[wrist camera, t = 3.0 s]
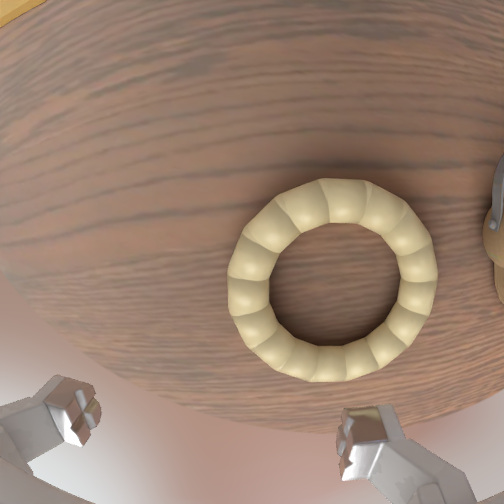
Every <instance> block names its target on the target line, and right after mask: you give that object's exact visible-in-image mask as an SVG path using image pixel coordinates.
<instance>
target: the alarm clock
mask: <svg viewBox="0 0 504 504" xmlns="http://www.w3.org/2000/svg"><path fill="white" fill-rule="evenodd" d="M503 195H504V153H503V155H502V157H501V159H500V161H499V163H498V166H497V168H496V171H495V175H494V180H493V188H492V207H491V208H490V210H489V211H488V213H487V215H486V218H485V220H484V225H483V236H482V237H483V243H484V248H485V250H486V252H487V254H488V256H489V258H490V259H491V260H492V261H493V262H494V276H495V286H496V290H497V293H498V297H499V300H500V301H501V302H502V303H503V305H504V197H503Z"/></svg>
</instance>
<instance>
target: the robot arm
mask: <svg viewBox="0 0 504 504" xmlns="http://www.w3.org/2000/svg"><path fill="white" fill-rule="evenodd" d="M95 394H96V393H95V390H94V388H93V386H92V385H90V384H88V383H85V382H81V381H78V380H75V379H71V378H67V377H63V376H61V375H55V376H53V377H52V378H51V379H50V380H49V381H48V382H47V383H46V384H45V385H44V386H43V387H42V388H41V389H40V390H39V391H38V392H37V393H36V394H35V395H34V396H33V397H32V398H30V397H27V398H24V399H22V400H18V401H16V402H13V403H10V404H7V405H4V406H0V504H95V503H92V502H89V501H87V500H84V499H82V498H79V497H77V496H75V495H72V494H70V493H68V492H66V491H63V490H61V489H59V488H57V487H55V486H52V485H51V484H49V483H47V482H45V481H43V480H41V479H39V478H37V477H35V476H33V471H32V470H31V468H30V467H29V465H28V464H27V462H29V461H31V460H33V459H34V458H36V457H38V456H40V455H42V454H44V453H45V452H47V451H49V450H51V449H52V448H54V447H56V446H58V445H59V444H61V443H63V442H64V441H66V442H69V443H71V444H74V445H78V446H80V447H83V446H84V445H85V443H86V442H87V440H88V439H89V437H90V435H91V434H90V430H91V429H93V428H95V427H97V425H98V423H99V422H100V418H101V407H100V404H99V402H98V401H97V400H96V399H95V398H94V396H95ZM341 420H342V424H341V425H340V426H339V427H338V432H337V440H336V445H337V454H338V455H339V456H340V457H341V460H340V463H339V468H340V475H341V480H342V481H343V480H357V479H368V478H369V479H368V480H369V481H370V482H371V483H372V484H373V485H374V486H375V487H376V488H377V489H378V490H379V491H380V492H381V493H382V494H383V495H384V496H385V497H386V498H387V499H388V500H389V501H390V502H391V503H392V504H504V491H503V492H501V493H498V494H496V495H494V496H492V497H489V498H487V499H485V500H483V501H480V502H477V500H476V498H475V496H474V493H473V491H472V489H471V487H470V484H469V482H468V480H467V477H466V475H465V473H464V472H462V471H461V470H459V469H457V468H456V467H454V466H453V465H451V464H449V463H448V462H446V461H445V460H443V459H441V458H440V457H438V456H437V455H435V454H433V453H432V452H430V451H429V450H427V449H426V448H424V447H423V446H421V445H420V444H418V443H417V442H415V441H414V440H412V439H406V437H405V435H404V433H403V430H402V427H401V425H400V422H399V420H398V417H397V415H396V412H395V410H394V407H393V405H391V404H384V405H376V406H366V407H353V408H344V409H343V411H342V415H341Z"/></svg>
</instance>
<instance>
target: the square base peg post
mask: <svg viewBox="0 0 504 504" xmlns="http://www.w3.org/2000/svg"><path fill="white" fill-rule="evenodd" d="M45 1H46V0H0V27H2V26H3V25H5V24H7V23H8V22H10V21H11V20H13V19H15V18H16V17H18V16H20V15H21V14H23V13H25V12H27V11H28V10H30V9H32V8H34V7H36V6H38V5H40V4H41V3H43V2H45Z"/></svg>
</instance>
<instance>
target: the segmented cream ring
mask: <svg viewBox="0 0 504 504" xmlns="http://www.w3.org/2000/svg"><path fill="white" fill-rule="evenodd" d="M326 223H357V224H359V225H361V226H363V227H365V228H367V229H370V230H372V231H374V232H376V233H378V234H380V235H381V236H382V238H383V239H384V240H385V241H386V243H387V244H388V245H389V246H390V248H391V249H392V250H393V251H394V253H395V255H396V259H397V262H398V266H399V270H400V274H401V279H400V285H399V292H398V298H397V301H396V303H395V304H394V306H393V308H392V310H391V311H390V313H389V315H388V316H387V318H386V320H385V321H384V322H383V323H382V324H381V325H379V326H378V327H377V328H376V329H375V330H373V331H372V332H371V333H370V334H369V335H367V336H366V337H364V338H362V339H359V340H356V341H354V342H351V343H348V344H345V345H343V346H316V345H313V344H310V343H308V342H305V341H302V340H300V339H297V338H295V337H294V336H292V335H291V334H290V333H289V332H288V331H287V330H286V329H285V328H284V327H283V326H282V325H281V324H279V323H278V321H277V319H276V316H275V314H274V312H273V309H272V307H271V305H270V303H269V277H270V274H271V272H272V270H273V268H274V266H275V263H276V261H277V259H278V257H279V255H280V253H281V252H282V251H283V250H284V249H285V248H286V247H287V246H288V245H289V244H290V243H291V242H292V241H293V240H295V239H296V238H297V237H298V236H299V235H300V234H301V233H303V232H305V231H308V230H311V229H313V228H316V227H319V226H321V225H324V224H326ZM437 280H438V269H437V263H436V258H435V254H434V249H433V244H432V240H431V236H430V234H429V232H428V231H427V229H426V228H425V226H424V225H423V224H422V222H421V221H420V220H419V218H418V217H417V215H416V214H415V213H414V211H413V210H412V209H411V208H410V206H409V205H408V204H407V203H406V202H405V201H404V200H403V199H401V198H399V197H397V196H396V195H394V194H392V193H390V192H388V191H386V190H384V189H383V188H381V187H379V186H377V185H375V184H373V183H371V182H369V181H366V180H355V179H335V178H321V179H317V180H314V181H311V182H309V183H306V184H304V185H301V186H298V187H296V188H293V189H291V190H288V191H286V192H283V193H281V194H279V195H277V196H276V197H274V198H273V199H272V200H271V201H270V202H269V203H268V204H267V205H266V206H265V207H264V208H263V209H262V210H261V211H260V212H259V213H258V214H257V215H256V216H255V217H254V218H253V219H252V220H251V221H250V222H249V223H248V224H247V225H246V226H245V227H244V229H243V231H242V233H241V236H240V238H239V240H238V243H237V245H236V248H235V250H234V253H233V255H232V258H231V260H230V262H229V265H228V269H227V281H228V307H229V312H230V314H231V316H232V318H233V320H234V322H235V324H236V327H237V329H238V331H239V333H240V335H241V337H242V339H243V341H244V343H245V344H246V346H247V347H248V348H249V349H251V350H252V351H253V352H254V353H255V354H256V355H258V356H259V357H260V358H261V359H262V360H263V361H265V362H266V363H267V364H268V365H269V366H270V367H272V368H273V369H274V370H277V371H279V372H282V373H285V374H288V375H291V376H293V377H296V378H299V379H302V380H305V381H309V382H338V381H348V380H351V379H354V378H357V377H360V376H363V375H366V374H368V373H371V372H374V371H376V370H379V369H381V368H383V367H384V366H385V365H387V364H388V363H389V362H390V361H392V360H393V359H394V358H396V357H397V356H398V355H399V354H400V353H402V352H403V351H404V350H405V349H407V348H408V347H409V346H410V345H411V344H412V342H413V341H414V339H415V338H416V336H417V335H418V333H419V331H420V330H421V328H422V327H423V325H424V323H425V322H426V320H427V318H428V317H429V315H430V313H431V310H432V306H433V301H434V296H435V291H436V285H437Z"/></svg>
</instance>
